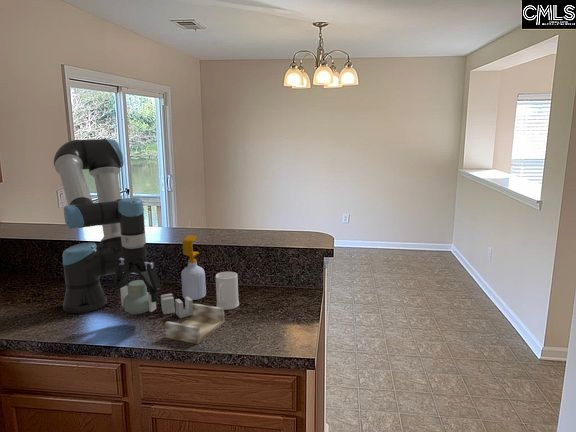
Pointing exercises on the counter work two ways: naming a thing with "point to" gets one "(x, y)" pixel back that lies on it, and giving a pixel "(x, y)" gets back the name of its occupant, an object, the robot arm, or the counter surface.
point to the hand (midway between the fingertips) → (138, 307)
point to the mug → (227, 290)
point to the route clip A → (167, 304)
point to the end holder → (196, 324)
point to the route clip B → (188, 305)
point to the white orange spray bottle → (192, 273)
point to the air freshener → (136, 298)
